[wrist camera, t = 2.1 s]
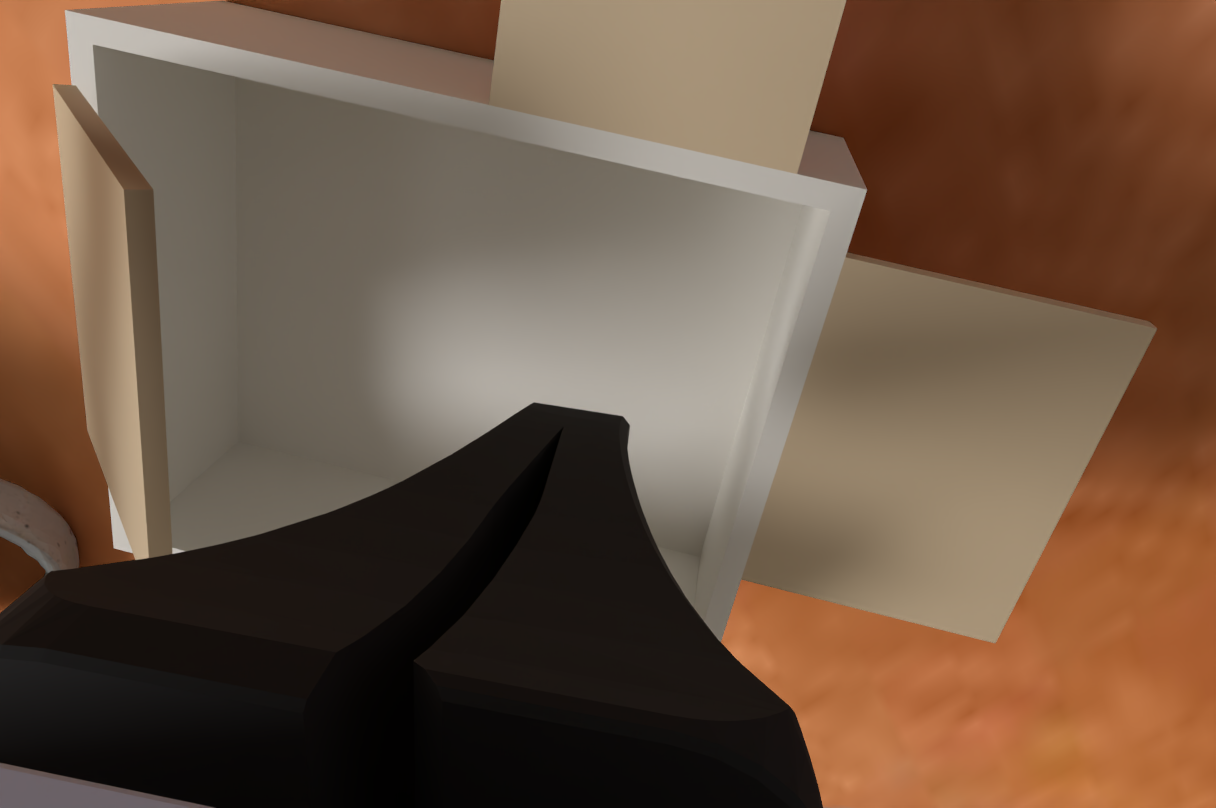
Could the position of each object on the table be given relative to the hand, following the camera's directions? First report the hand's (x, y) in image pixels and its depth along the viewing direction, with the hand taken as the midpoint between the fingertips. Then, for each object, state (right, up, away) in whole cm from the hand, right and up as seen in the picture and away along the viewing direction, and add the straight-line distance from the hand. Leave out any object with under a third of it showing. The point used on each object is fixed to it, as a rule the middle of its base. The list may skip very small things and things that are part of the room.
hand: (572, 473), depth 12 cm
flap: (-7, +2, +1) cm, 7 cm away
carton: (+1, +4, +6) cm, 7 cm away
